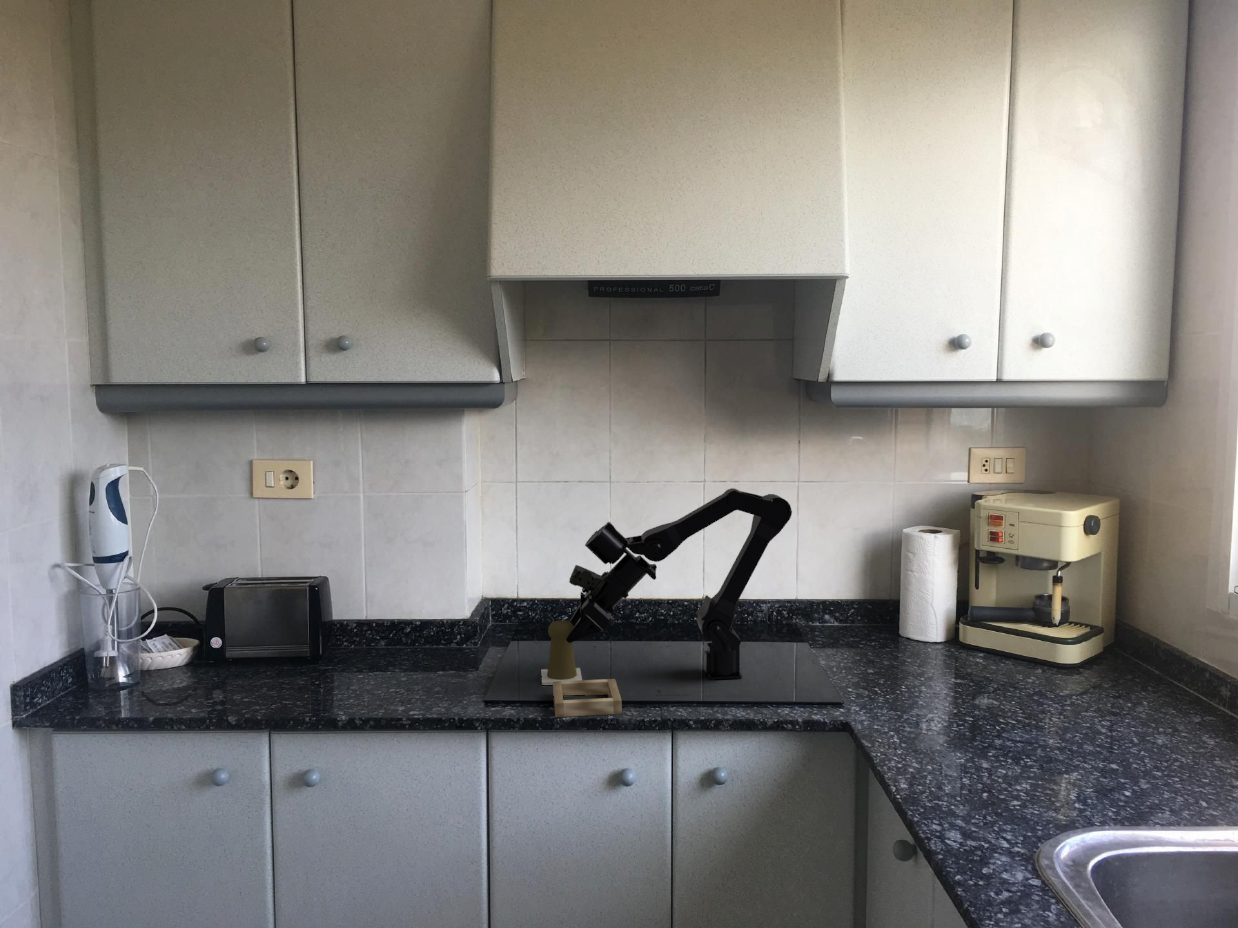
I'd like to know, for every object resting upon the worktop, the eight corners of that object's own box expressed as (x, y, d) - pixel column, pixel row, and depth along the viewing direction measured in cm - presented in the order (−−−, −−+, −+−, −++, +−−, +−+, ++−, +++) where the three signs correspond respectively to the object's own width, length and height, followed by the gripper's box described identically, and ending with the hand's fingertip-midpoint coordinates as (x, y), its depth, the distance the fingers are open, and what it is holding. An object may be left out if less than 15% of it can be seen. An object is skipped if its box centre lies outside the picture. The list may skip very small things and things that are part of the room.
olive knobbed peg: (566, 681, 179) (565, 627, 178) (541, 676, 182) (540, 623, 181) (582, 672, 184) (581, 620, 183) (557, 668, 187) (556, 616, 186)
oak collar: (614, 691, 175) (614, 678, 175) (621, 713, 163) (621, 700, 163) (553, 694, 174) (552, 681, 173) (555, 716, 162) (555, 703, 162)
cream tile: (579, 671, 187) (579, 667, 187) (582, 684, 179) (582, 680, 179) (541, 673, 186) (541, 669, 186) (542, 686, 178) (542, 682, 178)
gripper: (591, 544, 190) (540, 596, 191) (592, 561, 171) (536, 620, 172) (629, 579, 191) (579, 632, 192) (634, 600, 172) (578, 658, 173)
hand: (567, 634), depth 182 cm, fingers open, 9 cm apart
